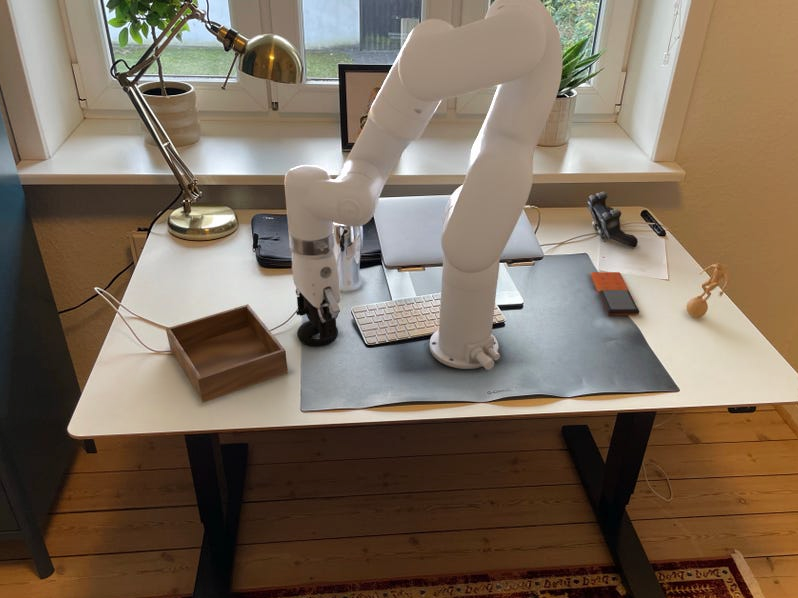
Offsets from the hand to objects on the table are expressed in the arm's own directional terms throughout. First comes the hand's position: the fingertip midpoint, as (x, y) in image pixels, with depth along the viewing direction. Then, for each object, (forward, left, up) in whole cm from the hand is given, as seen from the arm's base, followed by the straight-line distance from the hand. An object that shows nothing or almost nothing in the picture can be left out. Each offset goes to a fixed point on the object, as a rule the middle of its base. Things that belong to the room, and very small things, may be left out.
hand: (317, 324), depth 136 cm
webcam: (0, 0, -3) cm, 3 cm away
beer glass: (+13, -13, -3) cm, 19 cm away
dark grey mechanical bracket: (+2, -76, -3) cm, 76 cm away
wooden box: (+1, +17, -3) cm, 17 cm away
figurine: (-32, -68, -3) cm, 75 cm away
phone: (-18, -58, -3) cm, 61 cm away
